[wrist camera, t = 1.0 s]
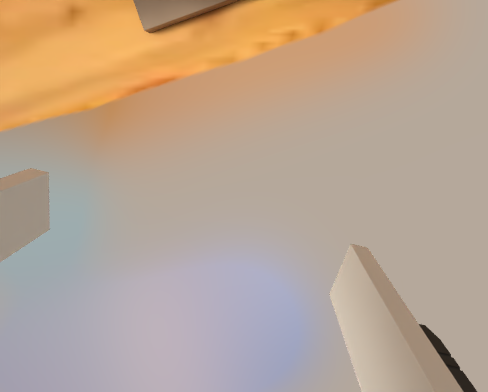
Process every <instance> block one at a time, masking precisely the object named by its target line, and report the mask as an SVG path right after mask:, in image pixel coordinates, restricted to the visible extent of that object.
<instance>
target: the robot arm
mask: <svg viewBox="0 0 488 392" xmlns="http://www.w3.org/2000/svg"><path fill="white" fill-rule="evenodd" d="M48 230H49V173H48V172H44V171H40V170H36V169H32V168H30V169H27V170H24V171H21V172H18V173H15V174H12V175H9V176H7V177H4V178H0V262H1V261H3V260H4V259H6V258H7V257H9V256H10V255H12V254H13V253H15V252H16V251H18V250H19V249H21V248H22V247H24V246H25V245H27V244H28V243H30V242H31V241H33V240H35V239H36V238H38V237H39V236H40V235H42V234H43V233H45V232H47V231H48ZM330 297H331V301H332V304H333V307H334V310H335V313H336V316H337V319H338V322H339V325H340V328H341V331H342V334H343V337H344V340H345V343H346V346H347V349H348V352H349V355H350V358H351V361H352V364H353V368H354V370H355V374H356V377H357V380H358V383H359V386H360V389H361V392H477V391H476V389H475V388H474V386H473V385H472V384H471V382H470V381H469V380H468V378H467V377H466V375H465V374H464V373H463V371H461V370H460V367H459V366H458V364H457V363H456V361H455V360H454V358H452V357H451V354H450V353H449V351H448V350H447V349H446V347H445V346H444V344H443V343H442V342H441V340H440V339H439V338H438V337H437V336H436V335H434V333H432V332H431V331H430V330H429V329H428V328H427V327H426V326H425V325H420V324H418V323H417V321H416V320H415V318H414V317H413V315H412V314H411V312H410V311H409V309H408V308H407V306H406V305H405V303H404V302H403V300H402V299H401V297H400V296H399V294H398V293H397V291H396V290H395V288H394V287H393V285H392V284H391V282H390V281H389V279H388V278H387V276H386V275H385V273H384V272H383V270H382V269H381V267H380V266H379V264H378V263H377V261H376V260H375V258H374V257H373V255H372V254H371V252H370V251H369V249H368V248H366V247H362V246H358V245H354V244H350V246H349V249H348V251H347V254H346V256H345V258H344V261H343V263H342V266H341V268H340V270H339V272H338V275H337V277H336V280H335V282H334V285H333V287H332V289H331V292H330Z"/></svg>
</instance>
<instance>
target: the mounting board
mask: <svg viewBox="0 0 488 392" xmlns="http://www.w3.org/2000/svg"><path fill="white" fill-rule="evenodd" d="M236 1H239V0H134V3H135V6H136V9H137V12H138V14H139V17H140V20H141V23H142V26H143V28H144V31H146V32H148V33H151V32H154V31H156V30H159V29H162V28H165V27H167V26H170V25H173V24H176V23H178V22H181V21H184V20H187V19H189V18H192V17H195V16H198V15H200V14H203V13H206V12H209V11H211V10H214V9H217V8H220V7H222V6H225V5H228V4H231V3H233V2H236Z"/></svg>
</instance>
